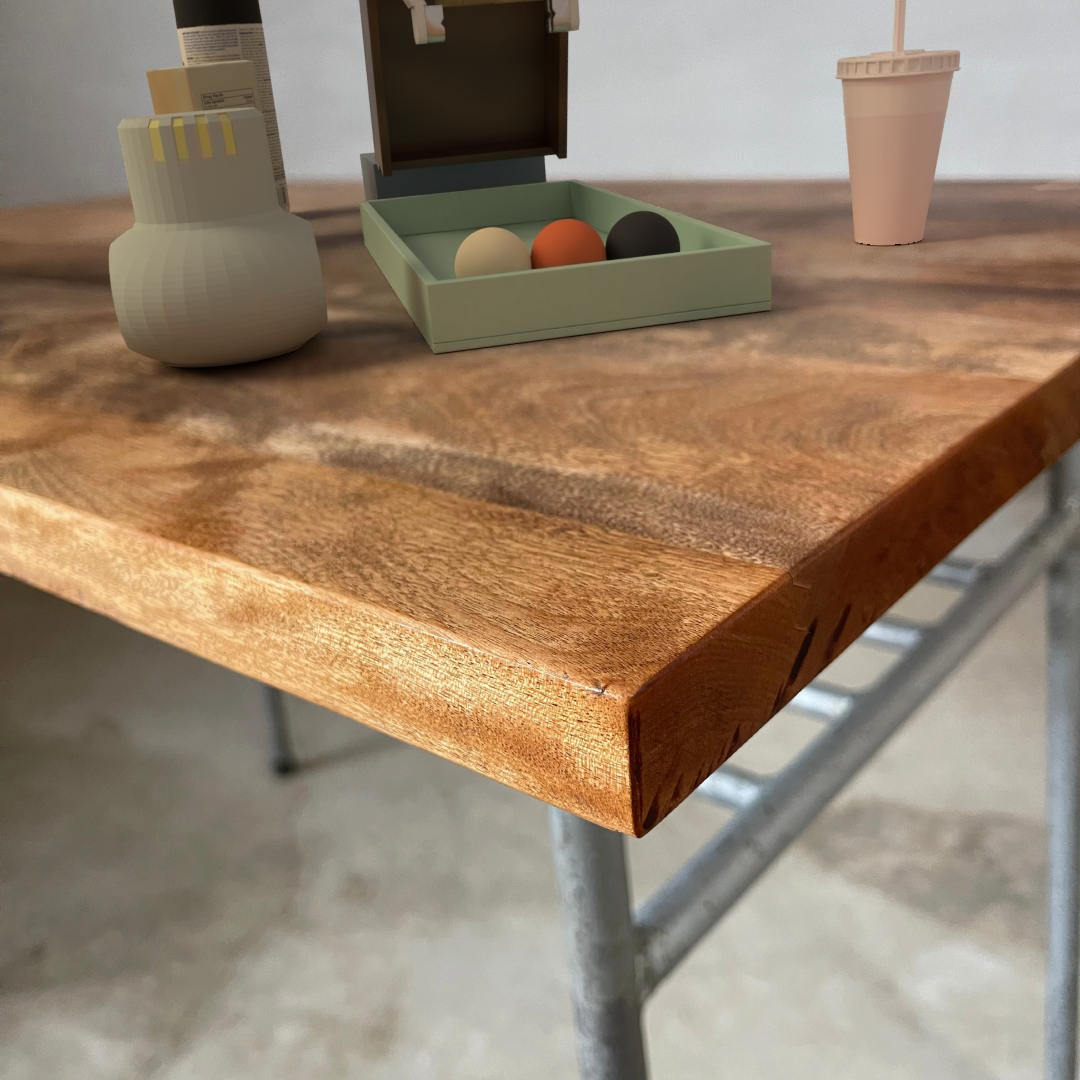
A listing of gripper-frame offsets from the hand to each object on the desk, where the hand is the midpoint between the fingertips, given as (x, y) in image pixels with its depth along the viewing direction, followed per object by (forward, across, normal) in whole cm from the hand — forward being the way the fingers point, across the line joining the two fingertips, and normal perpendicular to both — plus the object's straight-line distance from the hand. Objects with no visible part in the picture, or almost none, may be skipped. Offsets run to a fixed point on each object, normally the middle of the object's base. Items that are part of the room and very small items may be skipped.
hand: (497, 37), depth 60 cm
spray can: (+12, +16, -36) cm, 41 cm away
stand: (+12, 0, -23) cm, 25 cm away
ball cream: (+10, +4, +13) cm, 16 cm away
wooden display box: (0, 0, -13) cm, 13 cm away
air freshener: (+12, +16, +14) cm, 24 cm away
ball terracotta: (+10, 0, +13) cm, 16 cm away
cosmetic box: (+12, +17, -20) cm, 29 cm away
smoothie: (+12, -20, +6) cm, 25 cm away
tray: (+12, 0, +2) cm, 12 cm away
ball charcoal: (+10, -4, +12) cm, 17 cm away
